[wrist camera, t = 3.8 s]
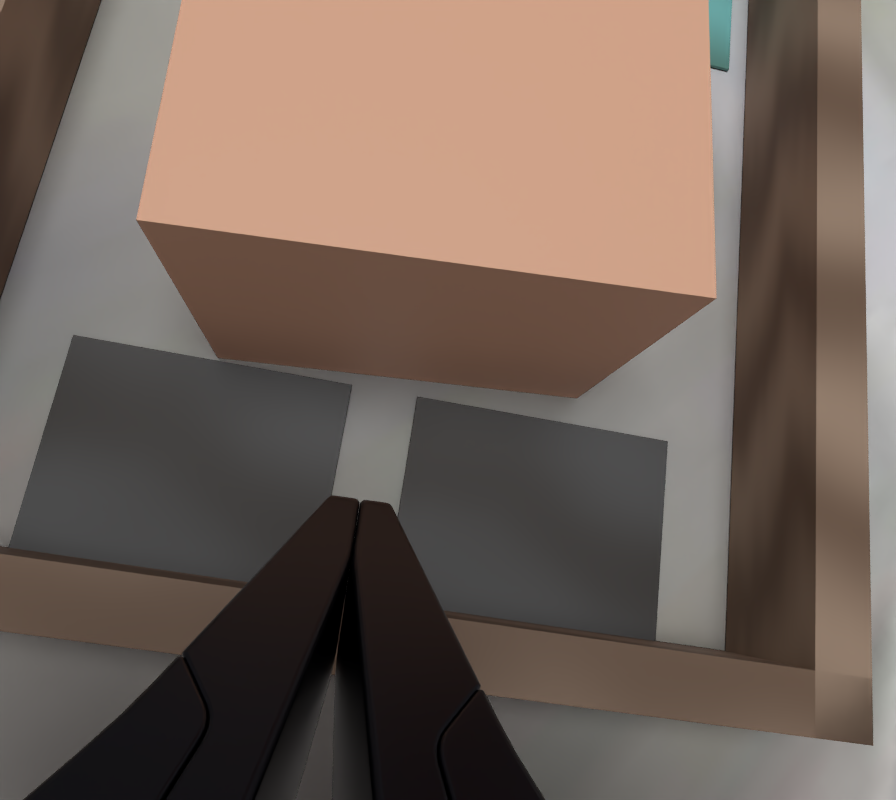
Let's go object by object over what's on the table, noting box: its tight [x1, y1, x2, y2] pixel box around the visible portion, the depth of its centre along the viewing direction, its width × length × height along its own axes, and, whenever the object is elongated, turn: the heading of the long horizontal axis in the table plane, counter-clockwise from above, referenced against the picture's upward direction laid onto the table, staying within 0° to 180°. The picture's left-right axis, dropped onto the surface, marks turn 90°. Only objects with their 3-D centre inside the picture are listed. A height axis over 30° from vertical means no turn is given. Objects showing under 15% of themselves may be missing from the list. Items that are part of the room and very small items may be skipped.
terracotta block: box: [136, 0, 716, 398], centre depth 19 cm, size 14×11×8 cm
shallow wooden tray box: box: [0, 0, 873, 746], centre depth 21 cm, size 36×26×4 cm
